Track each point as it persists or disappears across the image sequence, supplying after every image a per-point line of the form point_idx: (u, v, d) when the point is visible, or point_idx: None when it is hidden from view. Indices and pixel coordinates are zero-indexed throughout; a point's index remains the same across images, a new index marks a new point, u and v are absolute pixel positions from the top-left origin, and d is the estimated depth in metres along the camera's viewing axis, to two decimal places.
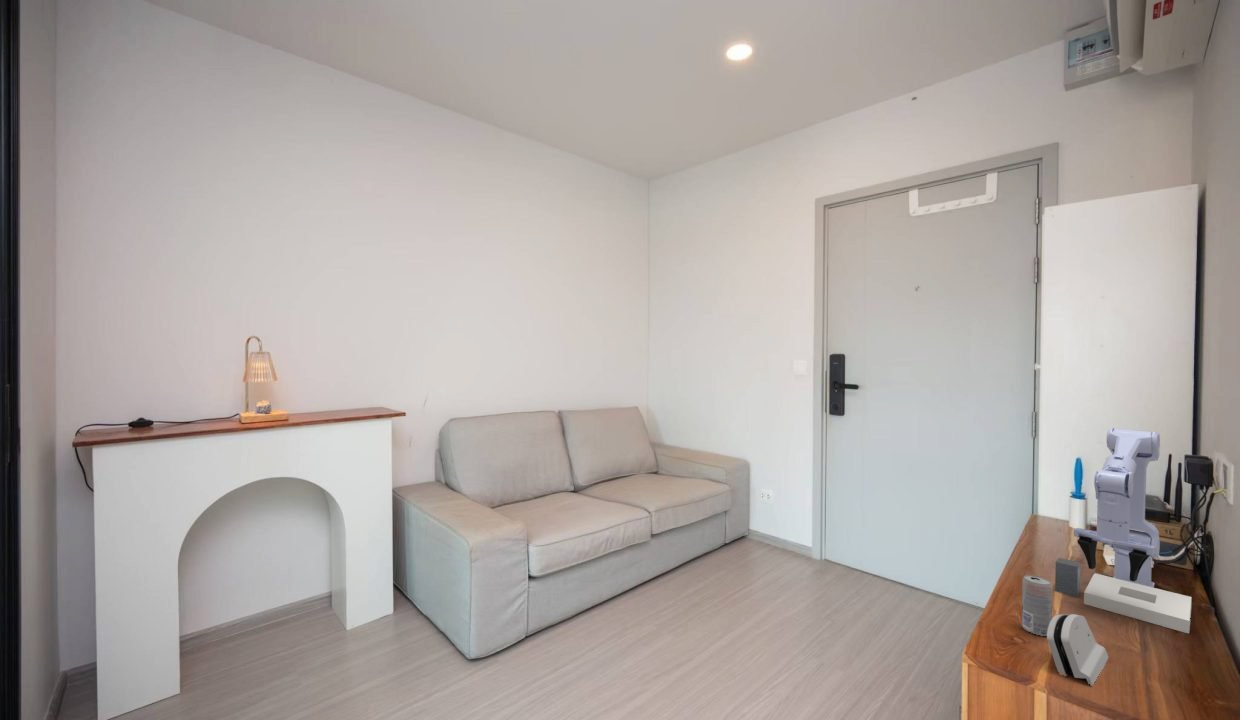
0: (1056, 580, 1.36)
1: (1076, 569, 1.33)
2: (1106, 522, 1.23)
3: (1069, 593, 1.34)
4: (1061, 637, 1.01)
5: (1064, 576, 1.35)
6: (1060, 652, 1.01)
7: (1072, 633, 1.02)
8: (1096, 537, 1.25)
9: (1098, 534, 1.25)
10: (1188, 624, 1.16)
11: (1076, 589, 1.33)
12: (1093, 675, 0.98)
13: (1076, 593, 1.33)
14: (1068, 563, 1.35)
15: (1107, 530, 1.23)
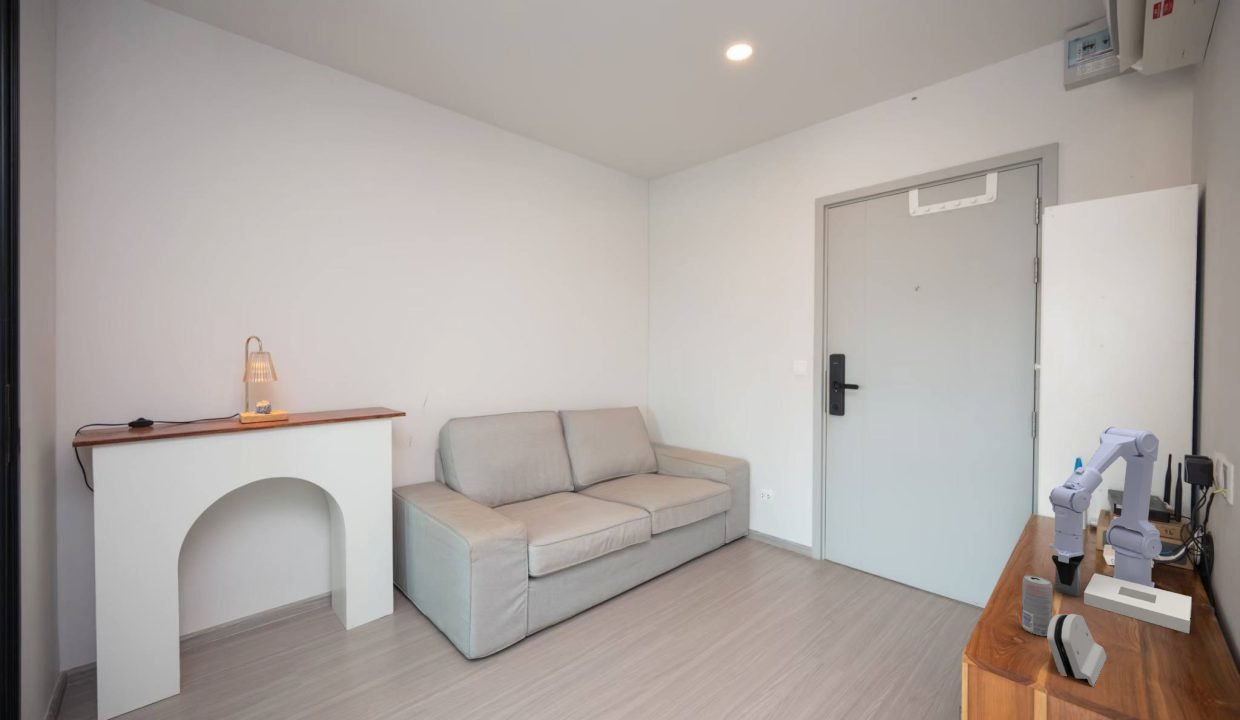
0: (1056, 580, 1.36)
1: (1076, 569, 1.33)
2: None
3: (1069, 593, 1.34)
4: (1062, 638, 1.01)
5: None
6: (1061, 652, 1.00)
7: (1072, 634, 1.02)
8: None
9: None
10: (1188, 624, 1.16)
11: (1076, 589, 1.33)
12: (1093, 675, 0.98)
13: (1076, 593, 1.33)
14: None
15: None
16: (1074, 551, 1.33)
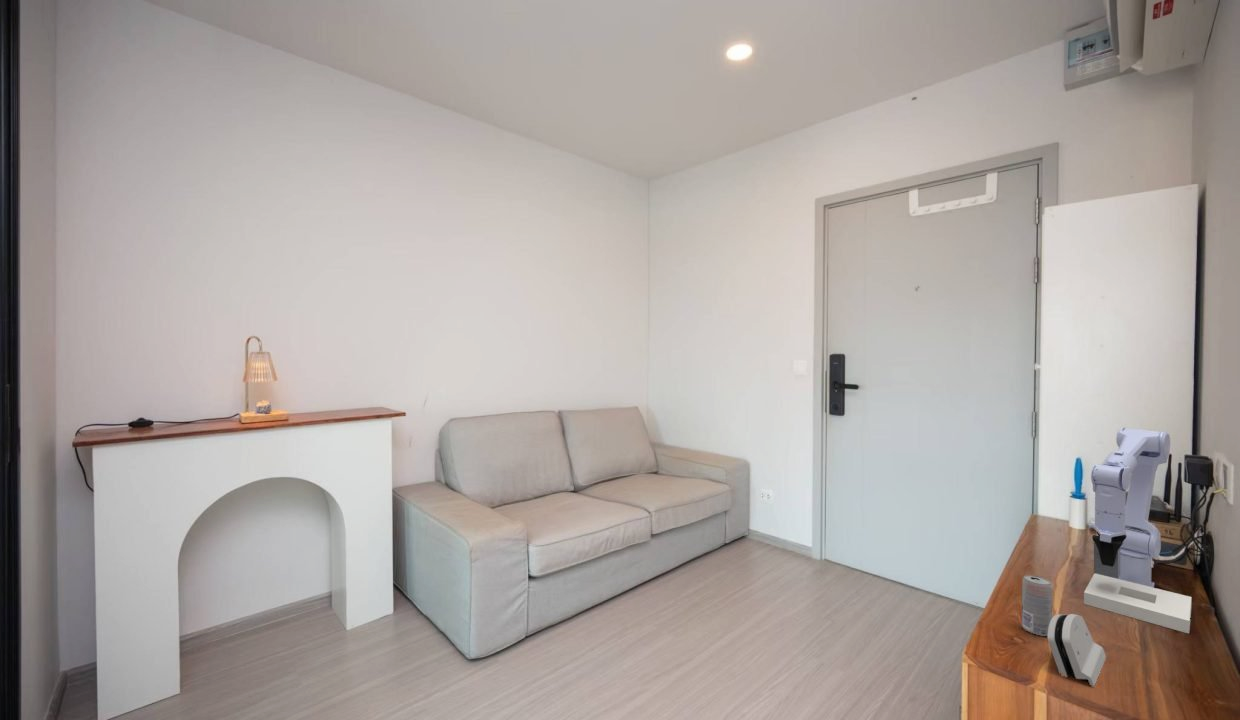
0: (1095, 562, 1.32)
1: None
2: None
3: (1109, 575, 1.29)
4: (1062, 638, 1.01)
5: None
6: (1061, 653, 1.00)
7: (1072, 634, 1.02)
8: None
9: None
10: (1188, 624, 1.16)
11: (1117, 571, 1.28)
12: (1093, 676, 0.98)
13: (1117, 575, 1.28)
14: None
15: None
16: (1116, 531, 1.28)
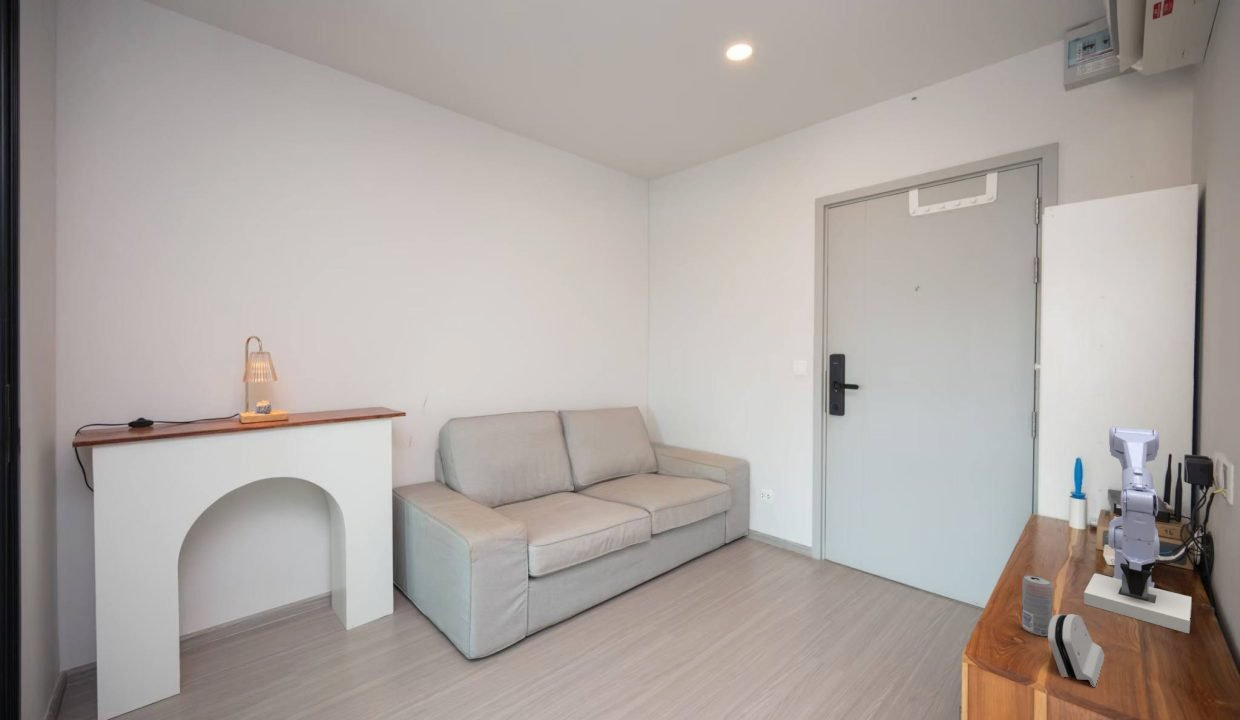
0: (1123, 594, 1.28)
1: None
2: None
3: None
4: (1063, 639, 1.00)
5: None
6: (1062, 654, 1.00)
7: (1073, 634, 1.01)
8: None
9: None
10: (1188, 624, 1.16)
11: None
12: (1094, 676, 0.98)
13: None
14: None
15: None
16: (1146, 558, 1.25)
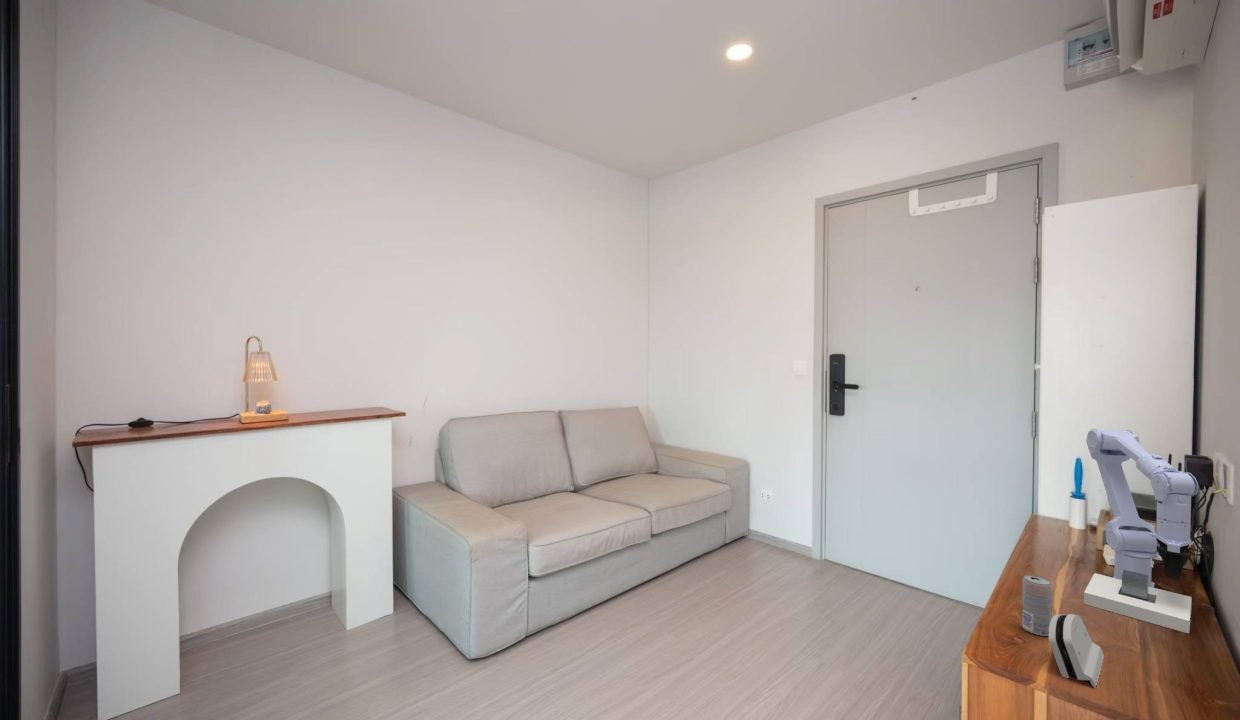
0: (1123, 594, 1.28)
1: (1145, 582, 1.25)
2: None
3: None
4: (1063, 639, 1.00)
5: (1132, 590, 1.27)
6: (1063, 654, 1.00)
7: (1073, 635, 1.01)
8: None
9: None
10: (1188, 624, 1.16)
11: None
12: (1095, 677, 0.98)
13: None
14: (1136, 576, 1.27)
15: None
16: (1182, 540, 1.23)
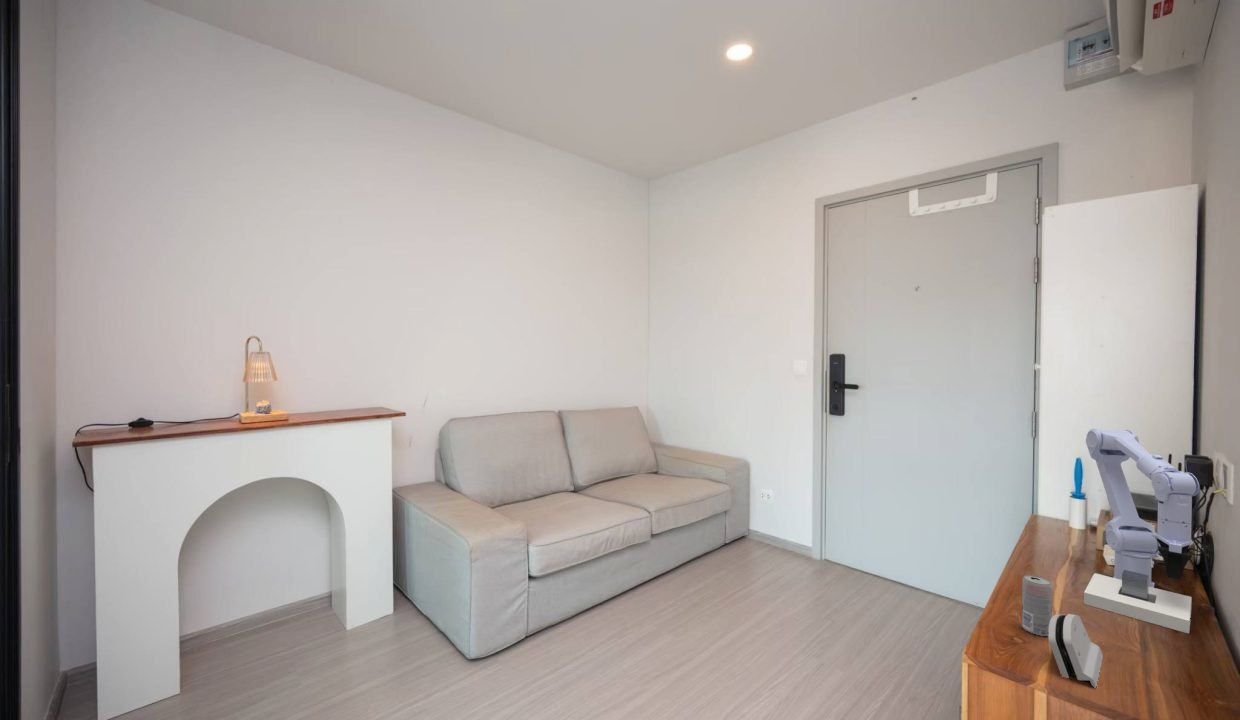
0: (1123, 594, 1.28)
1: (1145, 582, 1.25)
2: None
3: None
4: (1063, 639, 1.00)
5: (1132, 590, 1.27)
6: (1063, 654, 1.00)
7: (1073, 635, 1.01)
8: None
9: None
10: (1188, 624, 1.16)
11: None
12: (1095, 677, 0.98)
13: None
14: (1136, 576, 1.27)
15: None
16: (1183, 540, 1.23)
